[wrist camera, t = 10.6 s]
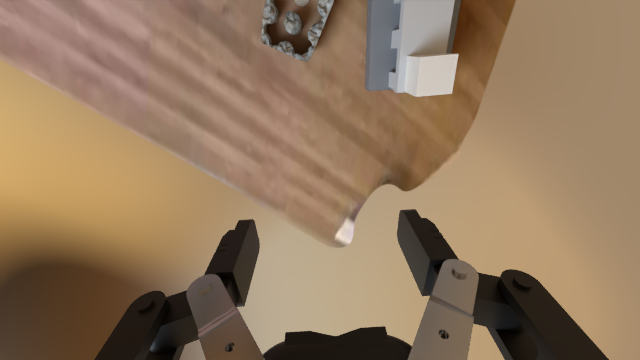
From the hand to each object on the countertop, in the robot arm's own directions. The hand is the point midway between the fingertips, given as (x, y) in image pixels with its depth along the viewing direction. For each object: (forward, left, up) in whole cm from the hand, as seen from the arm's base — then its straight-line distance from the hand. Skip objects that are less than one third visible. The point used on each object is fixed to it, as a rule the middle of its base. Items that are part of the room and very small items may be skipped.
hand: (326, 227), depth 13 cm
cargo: (-5, +13, -22) cm, 26 cm away
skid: (-9, +13, -26) cm, 30 cm away
